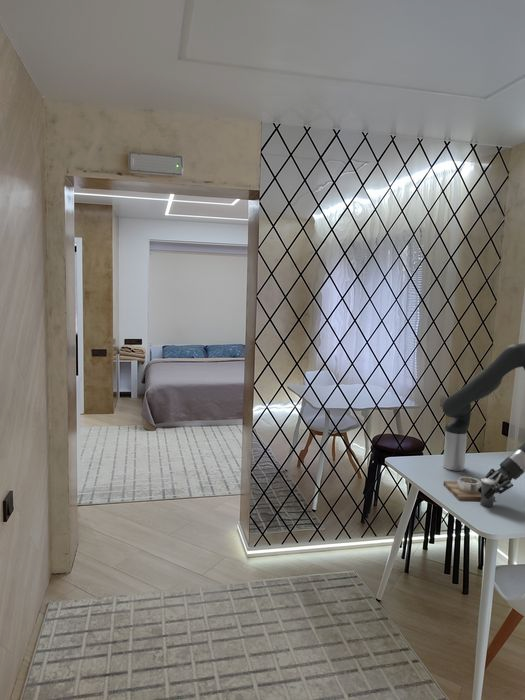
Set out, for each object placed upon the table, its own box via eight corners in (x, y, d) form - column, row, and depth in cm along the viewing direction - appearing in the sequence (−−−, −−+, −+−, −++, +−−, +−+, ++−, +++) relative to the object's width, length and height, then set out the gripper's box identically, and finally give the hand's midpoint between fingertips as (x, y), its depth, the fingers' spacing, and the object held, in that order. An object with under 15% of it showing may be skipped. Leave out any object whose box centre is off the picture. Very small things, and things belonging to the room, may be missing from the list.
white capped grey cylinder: (477, 502, 192) (479, 478, 191) (490, 502, 192) (492, 478, 191) (483, 507, 187) (484, 482, 186) (496, 507, 187) (498, 483, 186)
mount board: (443, 484, 209) (443, 481, 209) (476, 485, 209) (476, 481, 209) (458, 500, 193) (459, 496, 193) (494, 500, 194) (495, 497, 193)
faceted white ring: (453, 484, 205) (454, 476, 205) (474, 485, 206) (474, 476, 205) (462, 492, 197) (462, 484, 197) (483, 493, 197) (484, 484, 197)
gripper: (500, 451, 195) (467, 480, 196) (520, 463, 181) (484, 495, 182) (513, 464, 195) (480, 494, 196) (533, 477, 181) (497, 509, 182)
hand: (482, 494), depth 189 cm, fingers closed on white capped grey cylinder, 4 cm apart
